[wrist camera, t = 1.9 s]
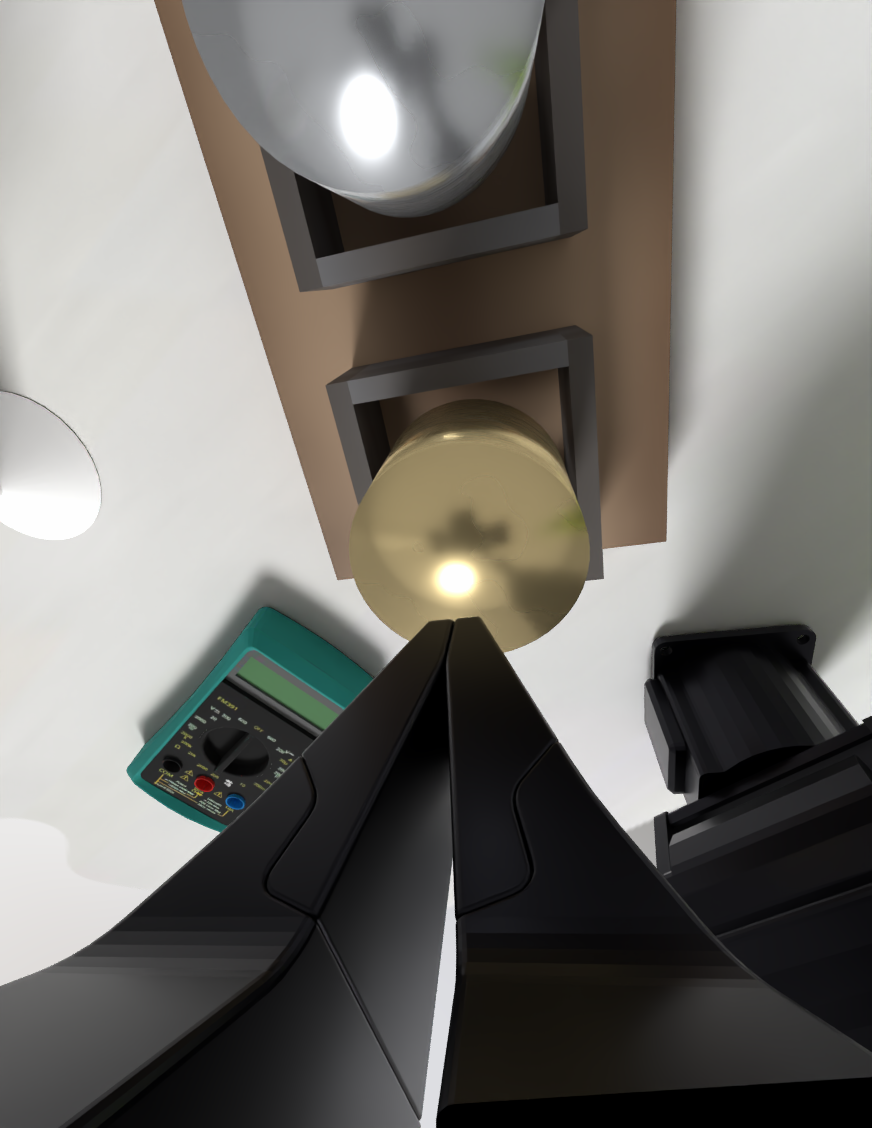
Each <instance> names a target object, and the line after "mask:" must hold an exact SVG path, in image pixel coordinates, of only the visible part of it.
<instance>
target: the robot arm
mask: <svg viewBox="0 0 872 1128" xmlns="http://www.w3.org/2000/svg"><path fill="white" fill-rule="evenodd" d="M801 635H804V636H803V637H802V638H799V639H797V638H798V637H799V636H801ZM815 642H816V635H815V633H814V632H813V631H812V630H811V629H810V628H809V627H808V626H806V625H789V626H777V627H766V628H755V629H743V630H732V631H721V632H710V633H698V634H687V635H676V636H664V637H660V638H658V639H656V640H655V641H654V642H653V644H652V679H648V680H647V681H646V683H645V684H644V708H645V724H646V727H647V730H648V733H649V736H650V739H651V742H652V745H653V748H654V751H655V754H656V757H657V760H658V763H659V766H660V769H661V772H662V775H663V778H664V781H665V784H666V787H667V789H668V790H670V791H671V792H672V793H673V794H684V797H685V800H686V802H687V805H685V806H683V807H681V808H679V809H677V810H675V811H673V812H670V813H668V812H664V813H662V814H660V815H658V816H655V817H654V830H655V846H656V862H657V868H656V867H655V866H654V865H653V864H652V862H651V861H650V860H649V859H648V858H647V857H646V856H645V854H644V853H643V852H642V851H641V850H640V849H639V847H638V846H637V845H636V844H635V842H634V841H633V840H632V839H631V838H630V837H629V835H628V834H627V833H626V832H625V831H624V830H623V828H622V827H621V826H620V825H619V824H618V822H617V821H616V820H615V819H614V817H613V816H612V815H611V814H610V812H609V811H608V810H607V809H606V807H605V806H604V805H603V804H602V802H601V801H600V800H599V799H598V797H597V796H596V795H595V794H594V792H593V791H592V789H591V788H590V787H589V785H588V784H587V782H586V781H585V779H584V778H583V776H582V775H581V774H580V772H579V771H578V769H577V768H576V766H575V765H574V763H573V762H572V760H571V759H570V757H569V756H568V754H567V752H566V751H565V749H564V748H563V746H562V745H561V743H559V742H558V739H557V737H556V736H555V734H554V732H553V731H552V729H551V728H550V726H549V724H548V723H547V721H546V720H545V718H544V717H543V715H542V713H541V712H540V710H539V709H538V707H537V706H536V704H535V702H534V701H533V699H532V698H531V696H530V694H529V693H528V691H527V690H526V688H525V687H524V685H523V683H522V682H521V680H520V679H519V677H518V675H517V674H516V672H515V671H514V669H513V668H512V666H511V664H510V663H509V661H508V660H507V658H506V656H505V655H504V653H503V652H502V650H501V649H500V647H499V645H498V644H497V642H496V641H495V639H494V638H493V636H492V634H491V633H490V631H489V630H488V628H487V626H486V625H485V623H484V622H483V620H482V619H481V618H480V617H479V616H472V617H463V618H457V619H456V620H455V622H454V621H453V620H452V619H443V620H433V621H429V622H428V623H427V624H426V625H425V626H424V627H423V628H422V629H421V630H420V631H419V632H418V633H417V634H416V635H415V636H414V637H413V638H412V639H411V640H410V641H409V642H408V643H407V644H406V646H405V647H404V648H403V649H402V650H401V651H400V652H399V653H398V654H397V655H396V656H395V657H394V658H393V659H392V660H391V661H390V662H389V663H388V664H387V665H386V666H385V667H384V668H383V669H382V671H381V672H380V673H379V674H378V675H377V676H376V677H375V678H374V679H373V680H372V681H371V682H370V683H369V684H368V685H367V686H366V687H365V688H364V689H363V690H362V691H361V692H360V693H359V694H358V696H357V697H356V698H355V699H354V700H353V701H352V702H351V703H350V704H349V705H348V706H347V707H346V708H345V709H344V710H343V711H342V712H341V713H340V714H339V715H338V716H337V717H336V718H335V720H334V721H333V722H332V723H331V724H330V725H329V726H328V727H327V728H326V729H325V730H324V731H323V732H322V733H321V734H320V735H319V736H318V737H317V738H316V739H315V740H314V741H313V742H312V743H311V745H310V746H309V747H308V748H307V749H306V750H305V751H304V752H303V753H302V757H303V758H302V757H298V758H297V759H296V760H295V761H294V762H293V763H292V764H291V765H290V766H289V767H288V768H287V769H286V770H285V771H284V772H283V773H282V774H281V775H280V776H279V777H278V778H277V779H276V780H275V781H274V782H273V783H272V784H271V785H270V786H269V787H268V788H267V789H266V790H265V791H264V792H263V793H262V794H261V795H260V796H259V797H258V798H257V799H256V800H255V801H254V802H253V803H252V804H251V805H250V806H249V807H248V808H247V809H246V810H245V811H244V812H243V813H242V814H240V815H239V816H238V817H237V818H236V819H235V820H234V821H233V822H232V823H231V824H230V825H228V826H227V827H226V828H225V829H224V830H223V831H222V832H221V833H220V834H219V835H218V836H216V837H215V838H214V839H213V840H212V841H211V842H210V843H209V844H207V845H206V846H205V847H204V848H203V849H202V850H201V851H199V852H198V853H197V854H196V855H195V856H194V857H193V858H192V859H190V860H189V861H188V862H187V863H186V864H185V865H184V866H183V867H181V868H180V869H179V870H178V871H177V872H176V873H175V874H173V875H172V876H171V877H170V878H169V879H168V880H167V881H166V882H164V883H163V884H162V885H161V886H160V887H159V888H158V889H157V890H155V891H154V892H153V893H152V894H151V895H150V896H149V897H148V898H146V899H145V900H144V901H143V902H142V903H141V904H140V905H139V906H137V907H136V908H135V909H134V910H133V911H132V912H131V913H129V914H128V915H127V916H126V917H125V918H124V919H122V920H121V921H120V922H119V923H118V924H116V925H115V926H114V927H113V928H112V929H110V930H109V931H108V932H106V933H105V934H104V935H102V936H101V937H99V938H98V939H97V940H95V941H94V942H92V943H91V944H90V945H88V946H87V947H85V948H83V949H82V950H80V951H78V952H77V953H75V954H73V955H72V956H70V957H68V958H66V959H64V960H62V961H60V962H58V963H56V964H54V965H52V966H50V967H48V968H46V969H43V970H41V971H38V972H36V973H33V974H31V975H28V976H26V977H23V978H20V979H18V980H15V981H12V982H10V983H7V984H4V985H2V986H0V1128H420V1127H421V1125H420V1122H419V1120H420V1119H421V1116H422V1109H423V1101H424V1092H425V1084H426V1076H427V1075H426V1074H427V1067H428V1058H429V1051H430V1042H431V1034H432V1026H433V1017H434V1008H435V1000H436V992H437V984H438V975H439V966H440V959H441V949H442V942H443V934H444V925H445V916H446V909H447V900H448V892H449V884H450V875H451V867H452V858H453V875H454V900H455V918H456V921H457V922H456V983H455V993H454V999H453V1006H452V1013H451V1020H450V1027H449V1035H448V1041H447V1048H446V1055H445V1062H444V1069H443V1076H442V1083H441V1090H440V1097H439V1105H438V1111H437V1118H436V1128H872V716H870V717H868V718H866V719H864V720H862V721H863V722H864V723H863V724H860V725H859V724H858V723H857V721H856V720H855V719H854V718H853V716H852V715H851V714H850V713H849V711H848V710H847V709H846V708H845V707H844V705H843V704H842V703H841V702H840V700H839V699H838V698H837V697H836V695H835V694H834V693H833V692H832V691H831V689H830V688H829V687H828V686H827V684H826V683H825V682H824V681H823V679H822V678H821V677H820V676H819V674H818V673H817V672H816V671H815V670H814V668H813V667H812V666H811V664H812V658H813V653H814V647H815ZM666 646H667V647H669V648H668V649H666V650H661V649H662V648H663V647H666Z"/></svg>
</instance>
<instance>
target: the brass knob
mask: <svg viewBox="0 0 872 1128" xmlns="http://www.w3.org/2000/svg"><path fill="white" fill-rule="evenodd" d="M349 556H350V564H351V569H352V573H353V577H354V579H355V582H356V585H357V587H358V589H359V591H360V593H361V595H362V597H363V599H364V600H365V602H366V603H367V605H368V606H369V607H370V609H371V610H372V611H373V612H374V614H375V615H376V616H377V617H378V618H379V619H380V620H381V621H382V622H383V623H384V624H385V625H387V626H388V627H389V628H390V629H391V630H393V631H394V632H396V633H397V634H399V635H400V636H401V637H403V638H405V639H407V640H409V641H410V640H411V639H412V638H413V637H414V636H415V635H416V634H417V633H418V632H419V631H420V630H421V629H422V628H423V627H424V626H425V625H426V624H427V623H428V622H429V621H433V620H443V619H452V620H453V621H454V622H455V620H456V619H457V618H463V617H472V616H479V617H480V618H481V619H482V620H483V622H484V623H485V625H486V626H487V628H488V630H489V631H490V633H491V634H492V636H493V638H494V639H495V641H496V642H497V644H498V645H499V647H500V649H501V650H502V652H503V653H504V652H508V651H512V650H514V649H517V648H520V647H522V646H525V645H527V644H529V643H531V642H533V641H535V640H537V639H538V638H540V637H541V636H543V635H544V634H546V633H547V632H549V631H550V630H551V629H552V628H554V627H555V626H556V625H557V624H558V623H559V622H560V621H561V620H562V619H563V618H564V617H565V616H566V615H567V614H568V612H569V611H570V610H571V608H572V607H573V605H574V604H575V602H576V601H577V599H578V597H579V595H580V593H581V591H582V589H583V586H584V583H585V580H586V577H587V573H588V567H589V562H590V544H589V537H588V531H587V528H586V524H585V521H584V518H583V515H582V512H581V509H580V507H579V504H578V501H577V499H576V496H575V493H574V490H573V488H572V485H571V482H570V480H569V477H568V474H567V471H566V469H565V466H564V463H563V461H562V458H561V455H560V453H559V451H558V449H557V447H556V445H555V443H554V442H553V440H552V439H551V437H550V436H549V434H548V433H547V432H546V431H545V430H544V429H543V427H542V426H541V425H540V424H538V423H537V422H536V421H535V420H534V419H533V418H531V417H530V416H528V415H527V414H525V413H524V412H522V411H520V410H518V409H516V408H514V407H512V406H510V405H507V404H503V403H500V402H497V401H491V400H485V399H467V400H458V401H454V402H450V403H446V404H443V405H440V406H438V407H435V408H433V409H431V410H430V411H428V412H426V413H424V414H423V415H421V416H420V417H419V418H417V419H416V420H415V421H413V422H412V423H411V424H410V425H409V426H408V427H407V428H406V429H405V430H404V431H403V433H402V434H401V435H400V437H399V438H398V439H397V441H396V443H395V444H394V446H393V448H392V449H391V451H390V453H389V455H388V456H387V458H386V460H385V461H384V463H383V465H382V467H381V468H380V470H379V472H378V473H377V475H376V477H375V478H374V480H373V482H372V484H371V485H370V487H369V489H368V490H367V492H366V494H365V496H364V497H363V499H362V501H361V503H360V504H359V506H358V508H357V511H356V514H355V516H354V519H353V522H352V527H351V531H350V539H349Z"/></svg>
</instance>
